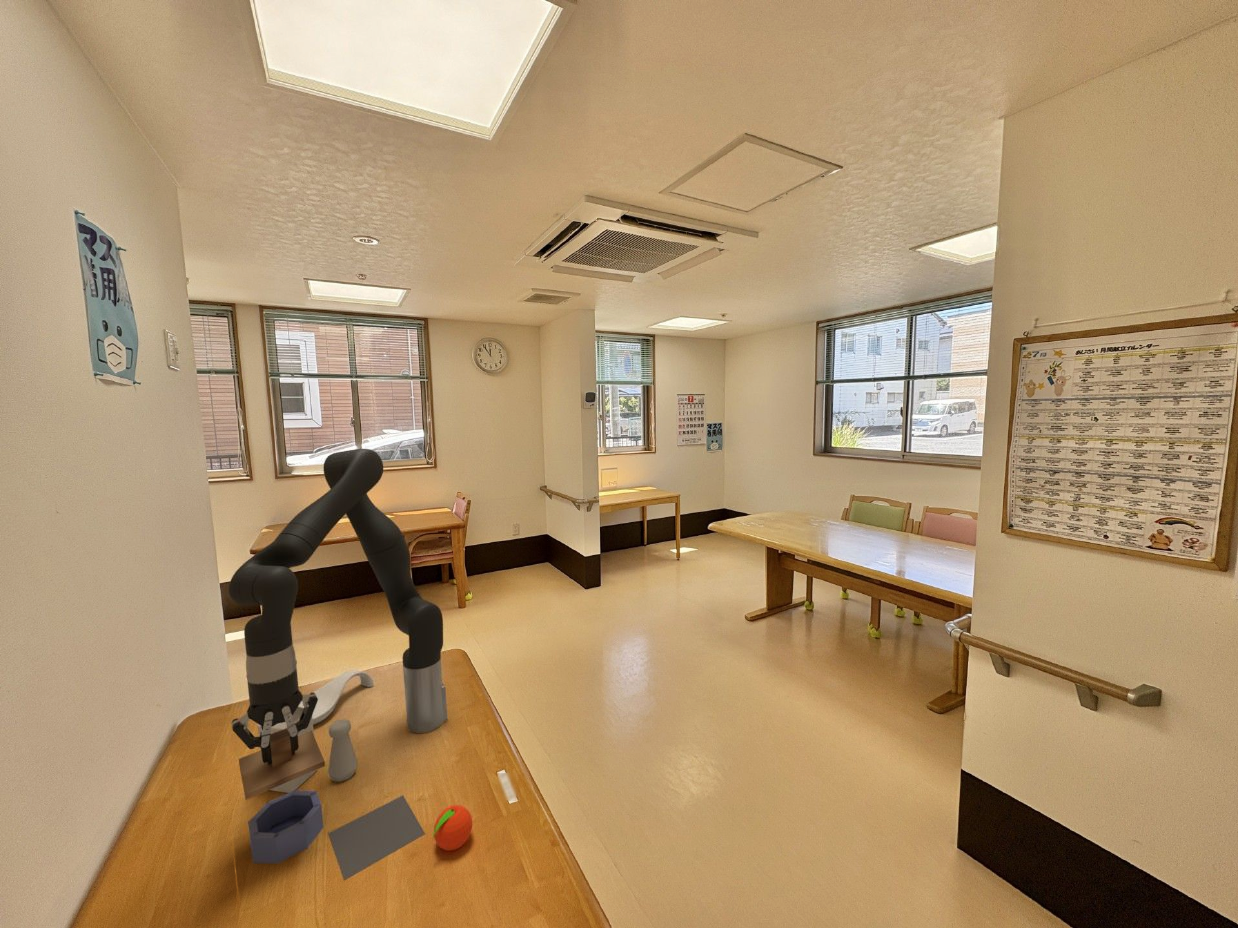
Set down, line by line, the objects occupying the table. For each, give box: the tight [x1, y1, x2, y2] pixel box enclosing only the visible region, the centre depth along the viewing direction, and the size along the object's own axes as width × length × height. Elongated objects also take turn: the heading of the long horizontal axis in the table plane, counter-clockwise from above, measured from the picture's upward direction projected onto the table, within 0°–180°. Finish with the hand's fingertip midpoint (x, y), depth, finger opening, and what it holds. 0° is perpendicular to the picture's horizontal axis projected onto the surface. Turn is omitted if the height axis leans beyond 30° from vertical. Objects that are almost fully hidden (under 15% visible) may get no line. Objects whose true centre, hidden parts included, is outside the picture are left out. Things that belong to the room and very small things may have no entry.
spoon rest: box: [298, 669, 375, 726], centre depth 138 cm, size 24×12×7 cm, turn 159°
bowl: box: [247, 789, 324, 865], centre depth 95 cm, size 11×11×6 cm
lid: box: [238, 728, 326, 801], centre depth 93 cm, size 12×12×6 cm
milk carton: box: [257, 707, 318, 794], centre depth 109 cm, size 7×7×19 cm
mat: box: [328, 794, 426, 881], centre depth 95 cm, size 14×13×1 cm
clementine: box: [432, 804, 473, 852], centre depth 92 cm, size 8×7×7 cm
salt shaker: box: [327, 718, 358, 783], centre depth 110 cm, size 6×6×13 cm
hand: (280, 756), depth 93 cm, fingers closed on lid, 3 cm apart
